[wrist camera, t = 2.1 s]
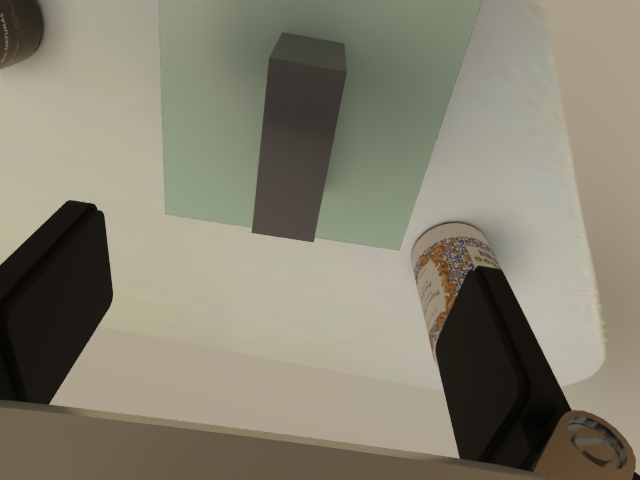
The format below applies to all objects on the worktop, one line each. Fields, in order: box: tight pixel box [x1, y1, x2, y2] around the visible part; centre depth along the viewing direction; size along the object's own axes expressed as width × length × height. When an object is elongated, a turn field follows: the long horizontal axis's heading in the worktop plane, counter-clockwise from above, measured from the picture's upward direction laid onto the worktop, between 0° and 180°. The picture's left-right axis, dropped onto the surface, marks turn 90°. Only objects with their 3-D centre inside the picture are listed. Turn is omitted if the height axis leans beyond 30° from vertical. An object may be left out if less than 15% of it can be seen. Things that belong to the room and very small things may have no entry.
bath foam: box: [412, 223, 502, 372], centre depth 33 cm, size 7×7×20 cm
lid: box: [158, 0, 482, 250], centre depth 20 cm, size 13×13×7 cm
